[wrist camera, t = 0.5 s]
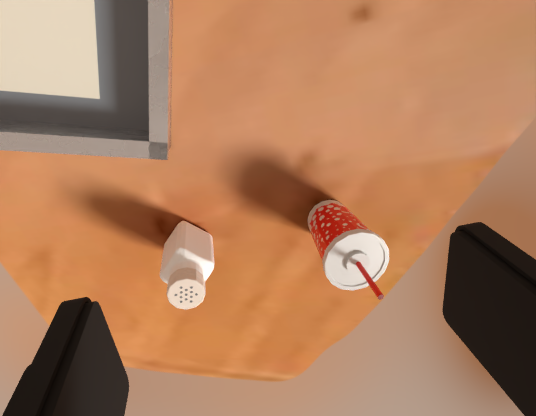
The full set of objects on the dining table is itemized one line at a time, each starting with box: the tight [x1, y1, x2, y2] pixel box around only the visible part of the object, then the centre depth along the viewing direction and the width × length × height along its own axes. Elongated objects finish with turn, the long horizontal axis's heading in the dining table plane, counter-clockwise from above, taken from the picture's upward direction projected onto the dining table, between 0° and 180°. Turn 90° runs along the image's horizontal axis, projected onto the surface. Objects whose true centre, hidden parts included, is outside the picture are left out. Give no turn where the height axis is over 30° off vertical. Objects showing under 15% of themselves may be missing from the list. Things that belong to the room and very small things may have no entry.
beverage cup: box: [307, 200, 389, 299], centre depth 37 cm, size 6×6×14 cm
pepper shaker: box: [160, 221, 214, 309], centre depth 37 cm, size 4×4×10 cm
